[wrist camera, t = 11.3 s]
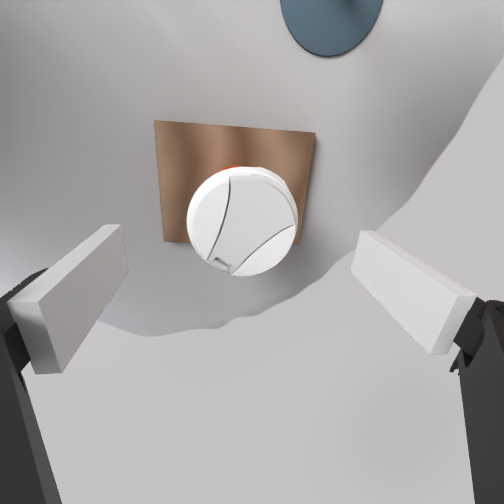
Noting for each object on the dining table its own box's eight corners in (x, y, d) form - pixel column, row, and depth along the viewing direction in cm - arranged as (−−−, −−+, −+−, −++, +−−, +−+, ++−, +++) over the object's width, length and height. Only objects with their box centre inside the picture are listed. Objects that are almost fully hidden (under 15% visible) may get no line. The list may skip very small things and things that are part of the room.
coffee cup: (244, 234, 34) (259, 299, 20) (188, 200, 31) (162, 249, 17) (282, 179, 31) (328, 212, 18) (224, 138, 29) (227, 138, 15)
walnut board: (166, 237, 34) (163, 241, 33) (157, 121, 29) (154, 120, 27) (295, 240, 36) (298, 244, 35) (311, 133, 31) (315, 132, 29)
